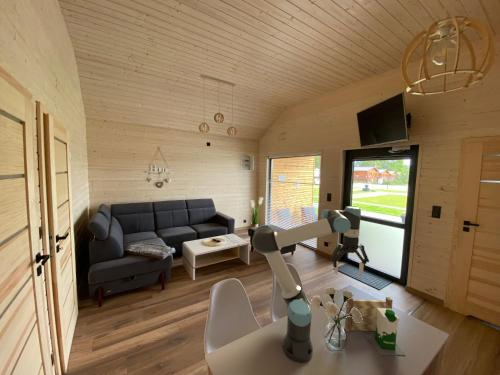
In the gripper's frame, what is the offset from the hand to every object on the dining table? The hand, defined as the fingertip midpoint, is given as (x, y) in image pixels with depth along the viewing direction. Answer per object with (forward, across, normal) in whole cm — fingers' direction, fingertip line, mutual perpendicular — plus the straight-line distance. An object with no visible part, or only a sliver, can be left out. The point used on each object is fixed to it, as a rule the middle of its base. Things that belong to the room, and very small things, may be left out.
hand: (348, 273), depth 117 cm
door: (+36, +15, +4) cm, 40 cm away
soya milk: (+36, +20, -5) cm, 42 cm away
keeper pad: (+37, +20, -5) cm, 42 cm away
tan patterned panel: (+37, +16, +5) cm, 40 cm away
